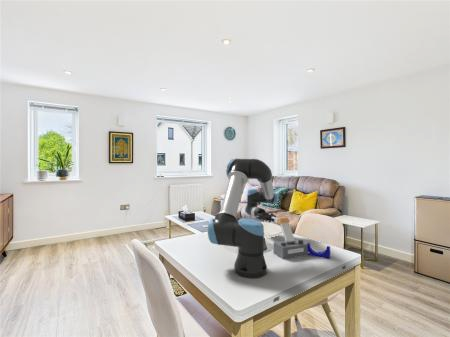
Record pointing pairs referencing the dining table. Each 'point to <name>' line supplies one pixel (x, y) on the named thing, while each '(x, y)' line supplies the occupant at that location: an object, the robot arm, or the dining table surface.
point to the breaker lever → (286, 230)
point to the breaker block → (290, 249)
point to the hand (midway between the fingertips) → (278, 221)
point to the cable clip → (319, 254)
